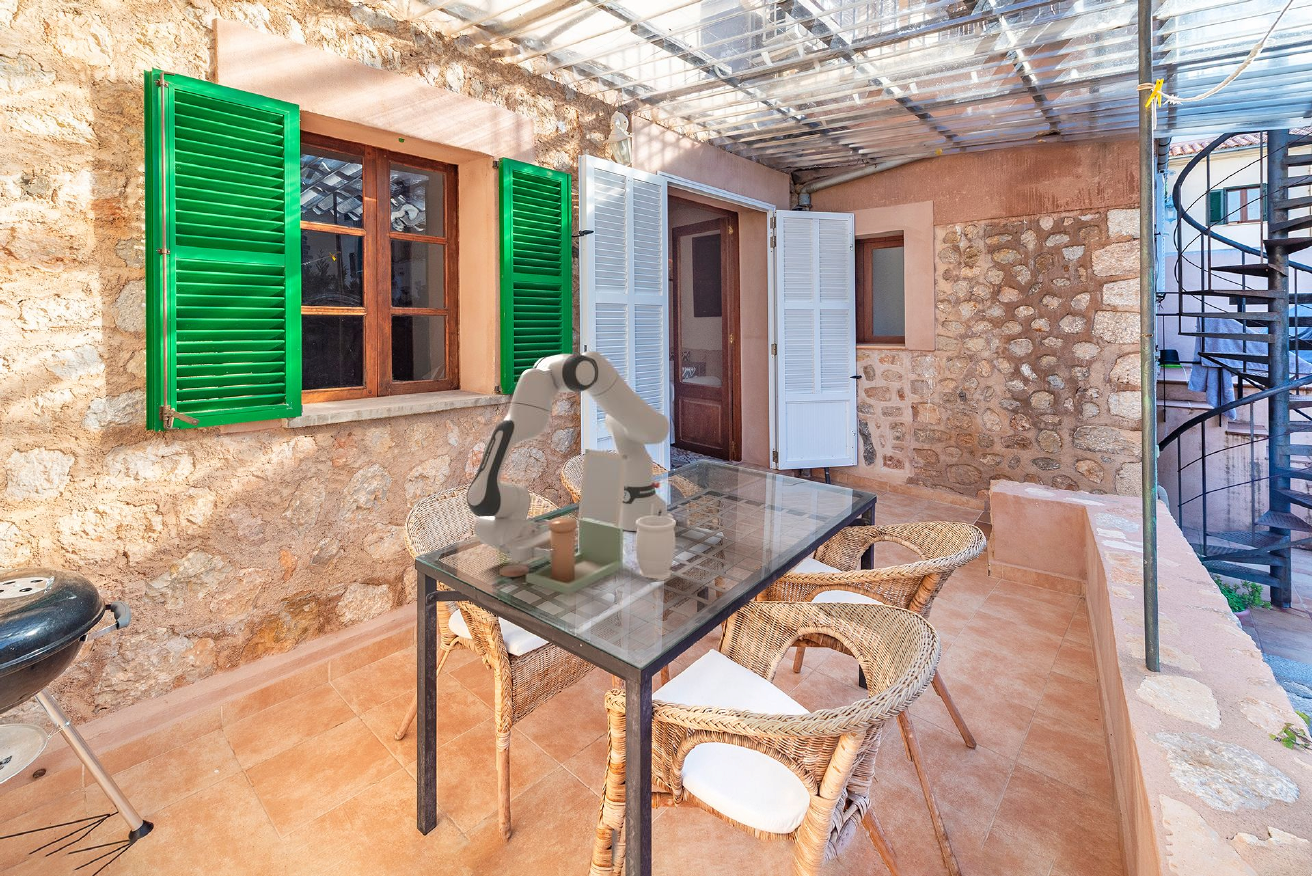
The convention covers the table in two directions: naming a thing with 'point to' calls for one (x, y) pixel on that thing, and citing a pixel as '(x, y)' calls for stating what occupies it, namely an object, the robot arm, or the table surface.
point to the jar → (655, 546)
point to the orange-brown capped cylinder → (563, 548)
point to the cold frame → (587, 558)
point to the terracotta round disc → (514, 570)
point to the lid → (602, 486)
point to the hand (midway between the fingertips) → (564, 548)
